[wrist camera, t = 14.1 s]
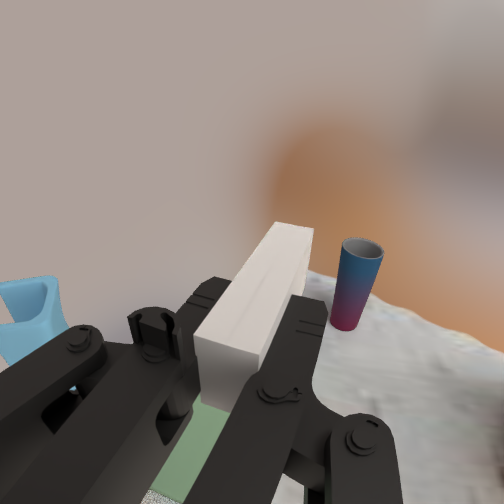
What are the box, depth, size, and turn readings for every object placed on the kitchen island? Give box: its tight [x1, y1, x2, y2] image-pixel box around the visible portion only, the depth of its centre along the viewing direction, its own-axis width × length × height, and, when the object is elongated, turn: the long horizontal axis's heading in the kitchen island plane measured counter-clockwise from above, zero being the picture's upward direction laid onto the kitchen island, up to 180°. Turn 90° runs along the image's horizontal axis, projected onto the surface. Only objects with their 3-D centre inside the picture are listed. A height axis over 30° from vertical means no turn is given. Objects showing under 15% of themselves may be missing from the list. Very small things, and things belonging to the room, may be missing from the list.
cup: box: [330, 238, 384, 331], centre depth 50 cm, size 7×7×15 cm
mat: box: [149, 393, 230, 504], centre depth 39 cm, size 34×16×1 cm, turn 161°
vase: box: [0, 276, 76, 390], centre depth 28 cm, size 8×8×20 cm
